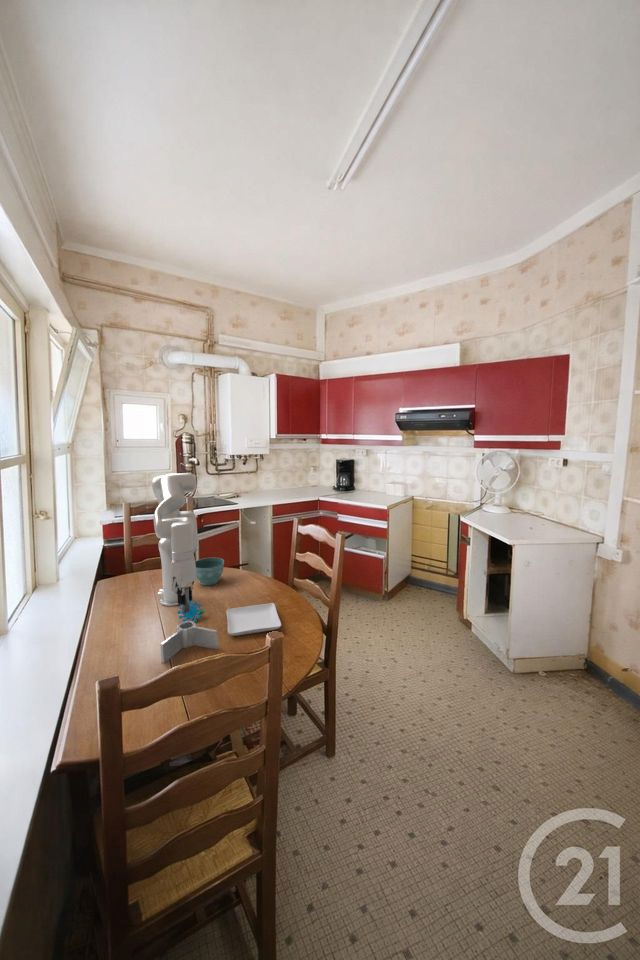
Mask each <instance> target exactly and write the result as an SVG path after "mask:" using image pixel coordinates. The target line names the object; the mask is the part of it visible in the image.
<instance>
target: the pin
mask: <svg viewBox="0 0 640 960" xmlns="http://www.w3.org/2000/svg"><path fill="white" fill-rule="evenodd" d="M178 586H179V585H178ZM190 586H191V582H190V583H189V584H187V585H186V586H184V594H185V595H186V605H181V609H180V611H181V612H182V613H188V612H189V611H190V605H191V604H190V602H189V587H190ZM180 590H181V588H180Z"/></svg>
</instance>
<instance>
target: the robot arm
mask: <svg viewBox="0 0 640 960" xmlns="http://www.w3.org/2000/svg"><path fill="white" fill-rule="evenodd" d="M197 484H198V483H197V479H196V477H195V474H193V473H192V472H191V473H190V472H182V473H179V472H178V473H167V474H165V475H159V476H156V477H154V478H152V480H151V487H152V491H153V494H154V495H155V498H156V500H157V503H158V506H157V507H156V508H155V510H154V514H153V527H154V533H155V536H156V537H157V538H158V539H159V541H158V544H157V545H158V550H159V556H160V560H161V561H160V562H161V575H162V576H161V577H162V579H161V580H162V588H159V590H158V592H157V596H161V598H160V600H159V603H160V605H162V606H166V607H174V606H180V605H186V595H185V594H184V586H186V585H187V584H189V583H190V582H191V586H190V587H189V601H192V602H193V589H194V585H195V584H194V583H195V582H196V580H197V578H196V565H195V561H196V560H195V556H194V553H196V552H197V551H198V550H199V535H198V534H199V533H198V522H197V517H196V514H195V512H194V511H193V510H182V511H180V509H181V508H183V506H184V505H185V504H186V497H185V493H186V494H187V493H189V494H190V493H194V492H195V491H196V489H197ZM178 585H179V586H178ZM180 588H181V590H180Z"/></svg>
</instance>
